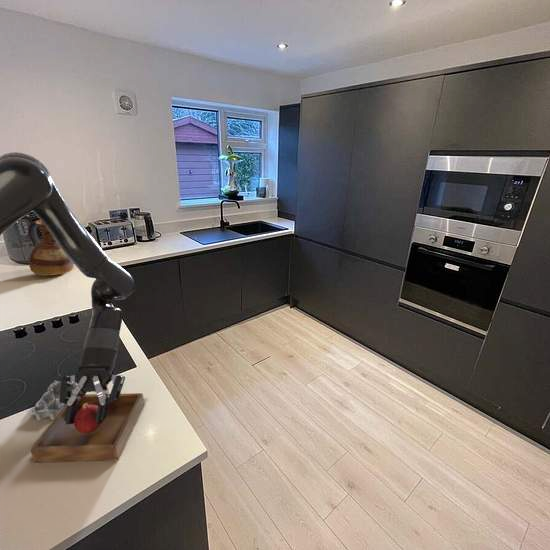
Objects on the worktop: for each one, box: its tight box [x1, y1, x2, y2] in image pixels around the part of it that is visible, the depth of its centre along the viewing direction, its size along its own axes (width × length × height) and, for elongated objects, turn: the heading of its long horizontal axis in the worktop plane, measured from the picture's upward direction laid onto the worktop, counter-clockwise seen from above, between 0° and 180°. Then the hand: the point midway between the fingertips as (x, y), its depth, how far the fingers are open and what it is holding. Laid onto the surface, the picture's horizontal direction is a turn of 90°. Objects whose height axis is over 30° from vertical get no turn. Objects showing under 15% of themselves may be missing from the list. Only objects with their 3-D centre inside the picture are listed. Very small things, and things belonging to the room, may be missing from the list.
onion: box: [74, 403, 101, 433], centre depth 67 cm, size 6×6×8 cm
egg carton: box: [29, 379, 78, 421], centre depth 76 cm, size 11×8×4 cm
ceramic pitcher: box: [28, 219, 75, 277], centre depth 157 cm, size 20×20×30 cm
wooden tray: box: [29, 392, 146, 464], centre depth 69 cm, size 18×16×4 cm
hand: (84, 423), depth 65 cm, fingers closed on onion, 5 cm apart
